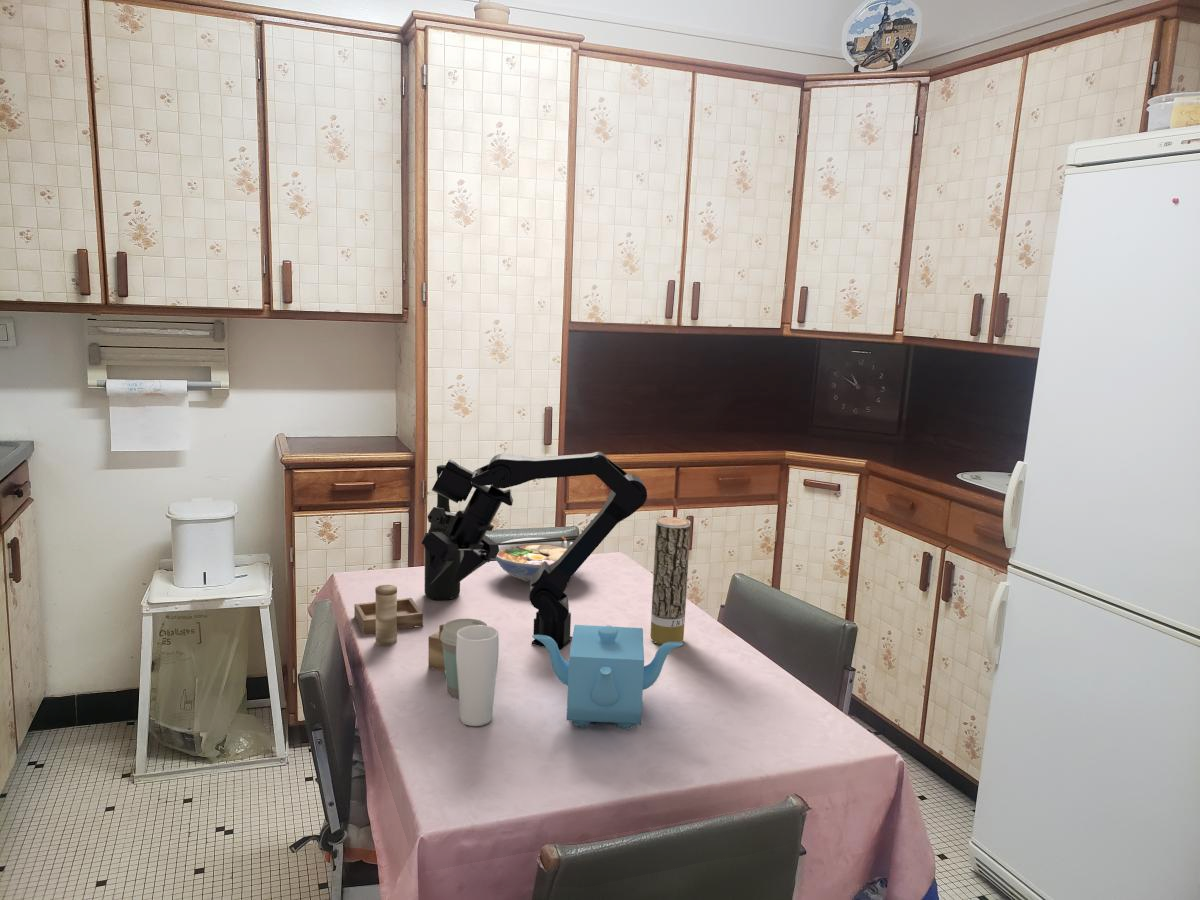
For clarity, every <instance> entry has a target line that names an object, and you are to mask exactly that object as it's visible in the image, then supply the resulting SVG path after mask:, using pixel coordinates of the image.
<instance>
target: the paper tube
mask: <svg viewBox="0 0 1200 900" xmlns="http://www.w3.org/2000/svg"><path fill="white" fill-rule="evenodd" d="M654 537H655V538H654V542H655V543H654V558H653V561H654V562H653V575H652V576H653V577H652V578H653V579H652V595H651V599H652V600H651V611H650V612H651V615H650V617H651V618H650V637H649V638H650V639H651V641H652V642H654V643H655V644H657V645H660V646H661V645H663V644H664V643H667V642H682V643H683V641H684V637H685V636H684V635H685V623H686V622H685V621H686V620H685V619H686V607H687V606H686V605H687V589H688V588H687V587H688V575H689V574H688V572H689V571H688V570H689V556H690V539H691V520H689V519H686V518H684V517H678V516H677V517H674V516H665V517H664V516H663V517H659V518H657V519H656V522H655V536H654Z"/></svg>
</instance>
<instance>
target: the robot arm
mask: <svg viewBox="0 0 1200 900" xmlns="http://www.w3.org/2000/svg"><path fill="white" fill-rule="evenodd" d="M445 465H446V466H445V468H444V470H443V472H441V474H440V475H439V477H438V479H436V481H435V483H434V485H433V486H432V489H431V491H432V492H434V493H435V494H437V493H438V494H440V495H442V496H444V497H446V498H448V499H449V501H452V502H454V503H456V504H458V503H462V502H463V501H464V502H466V500H467V499H468V497H469V495H470V493H471V492H472V489H473V488H474V491H473V494H472V495H471V497H470V499H469V500H468V502H467V505H466V507H465V508H464V510H460V509H459V510H458V511H457V512H456V513H454V512H451V511H450V512H451V513H450V512H445V509H443V508H439V507H437V506H433V507H432V509H431V510H430V511H429V513H428V514H427V521H428V523H429V524H430V526H431V527H439V528H443V529H446V531H445V533H447V534H448V535H451V536H452V539H450V538H449V537H448V536H446V535H445V534H444V533H442V532H428V531H427V532H426V533H425V534H424V535H423V537H422V540H421V542H420V543H421V544H422V546H423V547H424V550H425V549H426V550H428V553H429V565H428V571H427V578H426V582H427V583H428V584H432V583H433V582H434V581H435V580H436V579H437V578H438V577H439V576H440V575H441V574H442V573H443V572H444V571H445V570H446V569H447V568H448V567H449V566H450V565H451V563H452V562H453V561H454V560H452V559H453V558H454V557H455V556H456V555H457V553H458V551H459V550H461V551H463V556H462V559H461V560H460V566H459V568H458V570H457V573H456V575H455V578H454V581H455V582H457V583H459V582H460V583H461V582H462V581H463V580H465V578H467V577H468V576H469V575H471V574H472V573H474V572H475V571H477V570H478V569H479V568H480V567H482V566H484V565H485V564H486V563H488V562H489V563H490V562H491V561H492V560H493V559H496V556H497V554H498V552H499V546H498V544H497V543H498V542H496V541H494V540H493V539H491V538H490V537H489V536H487V535H486V533H487V532H492V531H493V529H494V525H492V522H493V520H494V519H495V516H496V514H497V512H498V511H499V509H500V507H501V505H502V503H503V504H505V505H508V506H509V507H511V506H512V505H513V503H514V498H513V497H512V492H511V489H510V488H511V487H515V486H518V485H522V484H524V483H527V482H530V481H533V480H539V479H553V478H566V477H577V476H578V477H579V476H580V477H581V476H590V475H591V476H593V475H594V476H595V477H597V478H598V479H599V480H601V482H603V483H604V484H605V486H607V487H608V488H609V489H610V490H611V491H610V492H609V494H608V496H607V498H606V501H605V502H604V504H603V507H602V508H601V509H600V510H599V511H598V513H597V514H596V515H595V516H594V517H593V519H592V520H591V521H590V522H589V523H588V524H587V525H586V527H584V529H583V530H582V531H581V533H580V534H578V537H577V538H576V539H575V540H573V543H572V544H571V545H570V546H569V548H568V549H567V550H566V551H565V552H564V553H563V555H562V556H561V557H560V558H559V559H558V560H557V561H556V562H554V563H552V564H551V565H548V564H547V562H546V561H544V562H543V563H542V565H541V567H540V568H539V570H538V571H537V572H535V573H533V574H532V580H531V583H529V596H528V597H529V602H530V603H531V604H530V605H531V606H533V608H535V610H537V611H536V612H535V617H534V619H533V635H545V636H549V637H551V638H552V639H553V640H554V641H555V642H556V643H557V646H558V648H559V651H560V650H563V649H564V648H565V647H567V646H568V645H569V644H571V642H572V636H571V623H572V622H571V621H572V613H571V612H570V611H569V610H570V609H569V607H570V606H569V604H570V603H569V596H568V595H567V594H566V593H565V591H566V589H567V586H568V584H569V583H570V580H571V578H572V577H573V576H574V574H575V573H576V572H577V571H578V570H579V569H580V567H581V566H582V565H583V564H584V563H585V561H586V560H587V559H588V558H589V557H590V556H591V554H593V552H594V551H595V550H596V549H597V548H598V547H599V545H600V544H601V543H602V542H603V541H604V540H605V538H606V537H607V536H608V535H609V534H610V533H611V532H612V530H613V529H614V528H615V527H616V526H617V525H618V524H619V523H620V522H622V521H624V520H626V519H627V518H629V517H630V516H632V515H633V514H634V513H635V512H636V511H638V510H639V509H640V508H641V507H643V506H644V505H645V503H646V501H647V499H648V491H647V488H646V486H645V484H644V482H643V480H642V479H641V477H639V476H638V475H636V474H631V473H629V474H628V473H627V472H626V471H625V470H624V469H623V468H621V467H620V466H619V465H617V464H616V463H615V462H613V461H612V460H611V459H609V457H607V455H606V454H605V453H603V452H602V451H595V452H592V453H582V454H581V453H579V454H565V455H555V456H554V455H553V456H552V455H551V456H541V457H539V456H538V457H531V456H524V455H521V454H511V453H499V454H496V455H493V457H492V458H491V459H490V461H489V462H488V464H486V465H483V466H481V467H479V468H477V469H475V470H474V471H471V470H469V469H468V468H466V467H464V466H461V465H459V464H458V463H457V462H456V461H454V460H452V459H448V461H447V463H446V464H445ZM507 488H508V489H507ZM502 489H505V490H502ZM430 526H429V527H430ZM491 559H492V560H491ZM531 645H533V646H537V647H542V648H546V647H545V645H544V644H543V643H542V642H540V641H539V640H537V639H535V638H533V640H532V641H531Z"/></svg>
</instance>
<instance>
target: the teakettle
mask: <svg viewBox="0 0 1200 900" xmlns="http://www.w3.org/2000/svg"><path fill="white" fill-rule="evenodd" d="M531 637H532V638H533V639H534V638H535V639H537V640H539V641H540V642H542V643H543V644H544V645H545V647H544V648H545V649H546V650H547V653H548V656H549V660H550V663H551V667H552V671H553V672H554V674H555V676H556V678H557V679H558V681H560V682H561V683H562V684H563V685H565V686H567V696H566V697H567V698H566V699H567V700H566V703H567V704H566V721H571V722H573V724H574V725H576V726H579V727H585V726H586V727H587V726H589V725H591V723H592V722H594V723H595V722H596V723H609V724H610V723H611V724H612V723H613V724H616V725H617V727H619V728H620V729H632V728H634V727H635V726H636V725H642V712H643V711H642V709H643V694H644V693H643V692H644V690H647V689H649V688H650V687H652V686H653V685H654V684H655V683H656V682H657V680H658V678H659V676H660V674H661V672H662V669H663V666H664V664H665V662H666V659H667V657H668V655H669V654H670V653H671V652H672V651H674V649H677V648H679V647H681V646H684V642H683V641H682V642H667V643H664V644H663V645H661V644H660V646H659V647H658V649H657V650H656V653H655V655H654V657H653V659H652V660H651V662H650V663H648V664H647V665H645V652H644V651H645V650H644V649H645V647H644V629H643V628H642V627H629V626H627V627H626V626H612V625H589V624H586V625H585V624H574V625H573V631H572V636H571V637H572V641H571V642H570V648H569V649H570V650H569V655H568V661H567V660H566V659H565V658H564V657H563V656H562V654H561V652H560V650H559V648H558V646H557V643H556V642H555V641H554V640H553V639H552V638H551V637H549V636H545V635H531ZM633 726H634V727H633ZM631 727H632V728H631Z"/></svg>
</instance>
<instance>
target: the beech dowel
mask: <svg viewBox="0 0 1200 900" xmlns="http://www.w3.org/2000/svg"><path fill="white" fill-rule="evenodd" d="M374 591H375V602H376V632H375V644H377V645H379V646H384V647H386V646H388V647H389V646H393V645H395V644H397V642H398V640H397V639H398V638H397V637H398V634H397V632H398V630H397V599H398V587H397V585H393V584H381V585H378V586H376V587H375V589H374ZM392 644H393V645H392Z"/></svg>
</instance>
